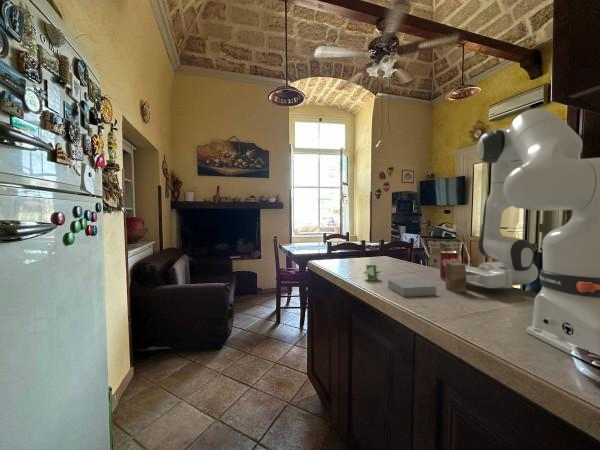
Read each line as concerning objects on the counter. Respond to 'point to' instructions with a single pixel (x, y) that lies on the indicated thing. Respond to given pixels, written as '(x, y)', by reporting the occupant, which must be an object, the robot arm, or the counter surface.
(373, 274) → the geometric puzzle
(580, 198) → the robot arm
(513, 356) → the counter surface
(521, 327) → the counter surface
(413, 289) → the slab
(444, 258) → the soda can
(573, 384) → the counter surface
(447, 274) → the pillar
